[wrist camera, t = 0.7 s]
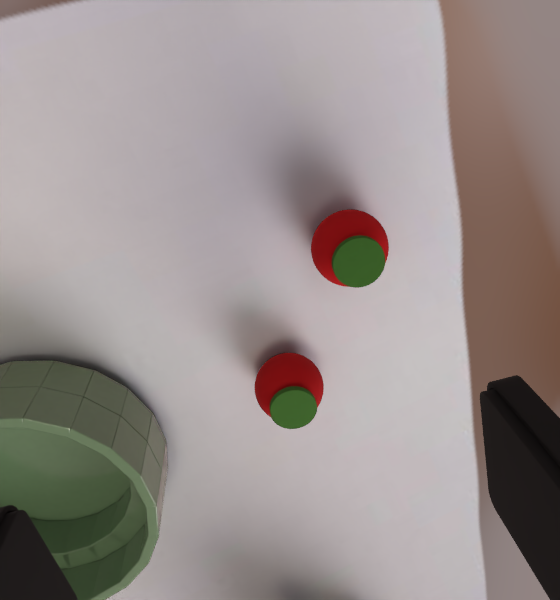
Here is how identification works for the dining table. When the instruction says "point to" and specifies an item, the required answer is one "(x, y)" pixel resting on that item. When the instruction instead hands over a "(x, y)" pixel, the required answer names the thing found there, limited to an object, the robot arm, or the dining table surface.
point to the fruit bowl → (82, 470)
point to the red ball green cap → (350, 248)
